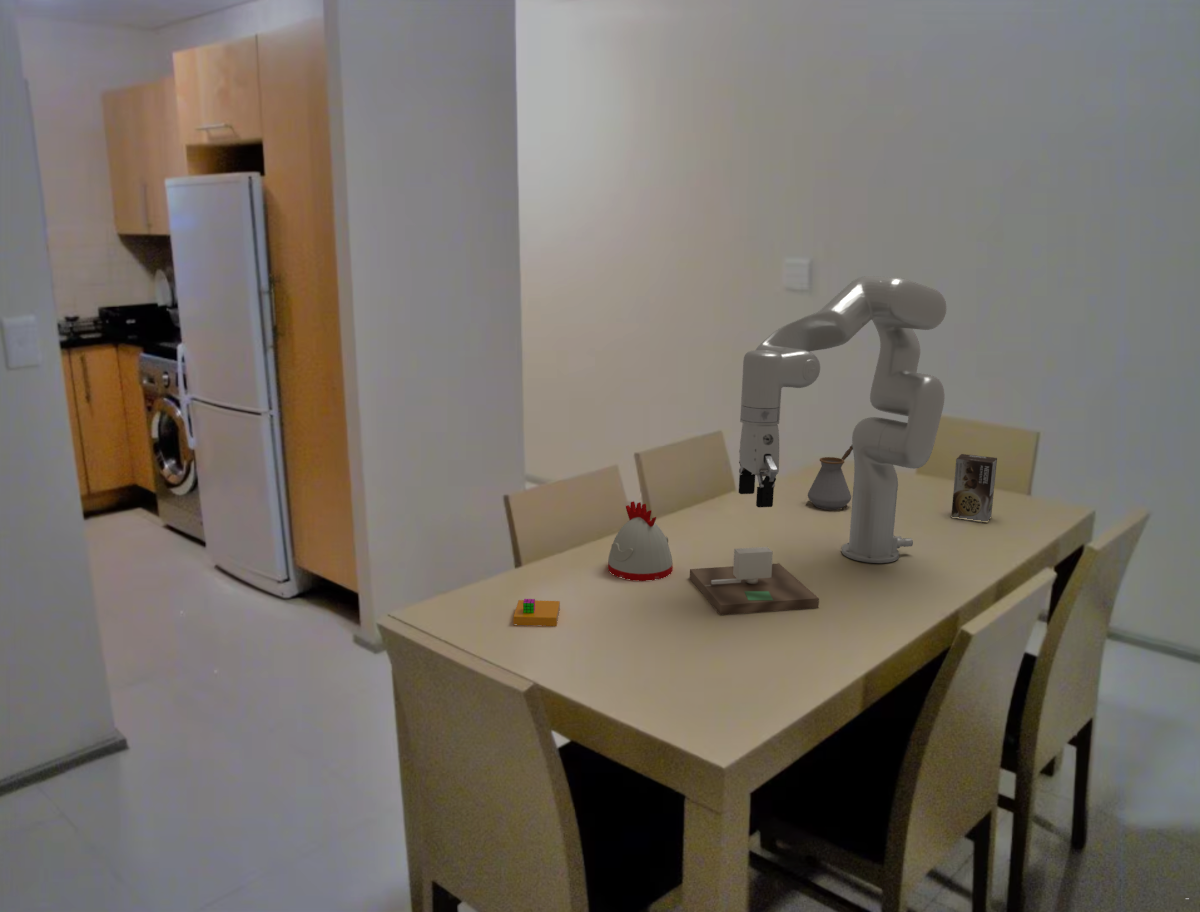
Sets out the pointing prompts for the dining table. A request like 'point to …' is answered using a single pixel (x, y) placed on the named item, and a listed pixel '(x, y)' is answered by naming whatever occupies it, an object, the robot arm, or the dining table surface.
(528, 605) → the orange block with cube
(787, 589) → the dial board
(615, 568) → the chicken figurine
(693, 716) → the dining table surface
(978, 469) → the coffee box
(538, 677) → the dining table surface
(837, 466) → the coffee pot
